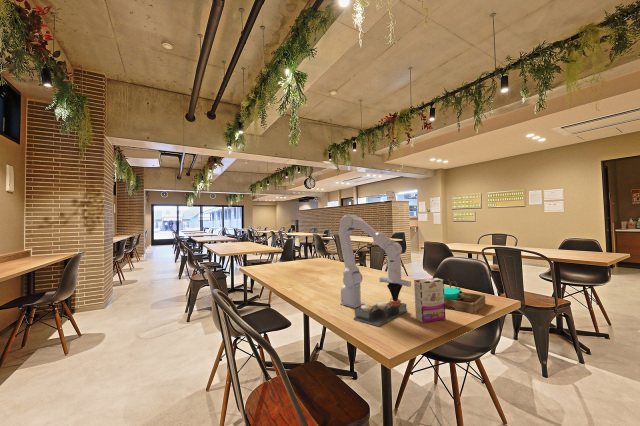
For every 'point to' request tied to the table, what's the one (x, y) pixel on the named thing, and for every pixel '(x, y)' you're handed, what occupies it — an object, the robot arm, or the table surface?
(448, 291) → the contraption on wooden base
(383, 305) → the plug cream mid
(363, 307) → the cream mushroom knob
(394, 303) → the plug red
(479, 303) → the brown wooden tray
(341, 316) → the table surface
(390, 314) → the panel
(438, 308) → the candy bar box
